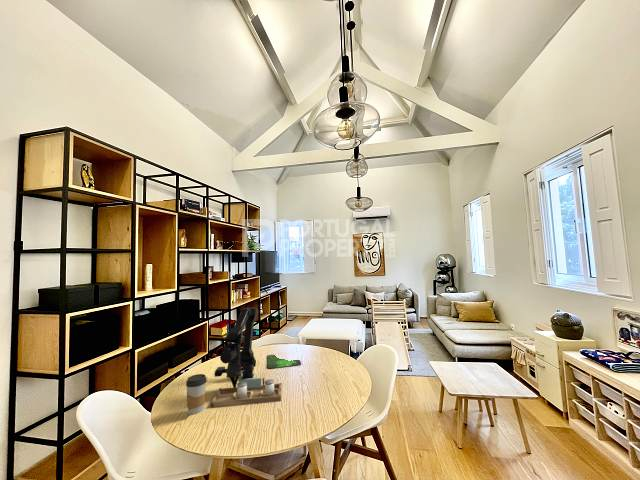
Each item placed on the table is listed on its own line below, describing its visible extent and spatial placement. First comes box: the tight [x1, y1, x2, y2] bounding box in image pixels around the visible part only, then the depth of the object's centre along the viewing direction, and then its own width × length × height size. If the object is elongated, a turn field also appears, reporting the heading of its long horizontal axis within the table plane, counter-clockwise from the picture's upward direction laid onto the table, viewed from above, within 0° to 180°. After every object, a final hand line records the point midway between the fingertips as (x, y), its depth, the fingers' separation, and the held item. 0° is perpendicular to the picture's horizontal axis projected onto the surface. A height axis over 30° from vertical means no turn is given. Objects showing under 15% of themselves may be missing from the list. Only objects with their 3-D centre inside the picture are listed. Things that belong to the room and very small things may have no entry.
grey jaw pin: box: [264, 378, 275, 397], centre depth 125 cm, size 4×4×7 cm
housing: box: [210, 377, 283, 408], centre depth 126 cm, size 16×31×6 cm, turn 97°
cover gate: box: [238, 377, 262, 389], centre depth 134 cm, size 2×11×4 cm, turn 97°
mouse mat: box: [266, 354, 302, 370], centre depth 176 cm, size 27×22×1 cm
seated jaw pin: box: [236, 382, 247, 399], centre depth 124 cm, size 4×4×7 cm
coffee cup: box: [185, 373, 207, 416], centre depth 115 cm, size 8×8×15 cm
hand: (234, 387), depth 133 cm, fingers closed
